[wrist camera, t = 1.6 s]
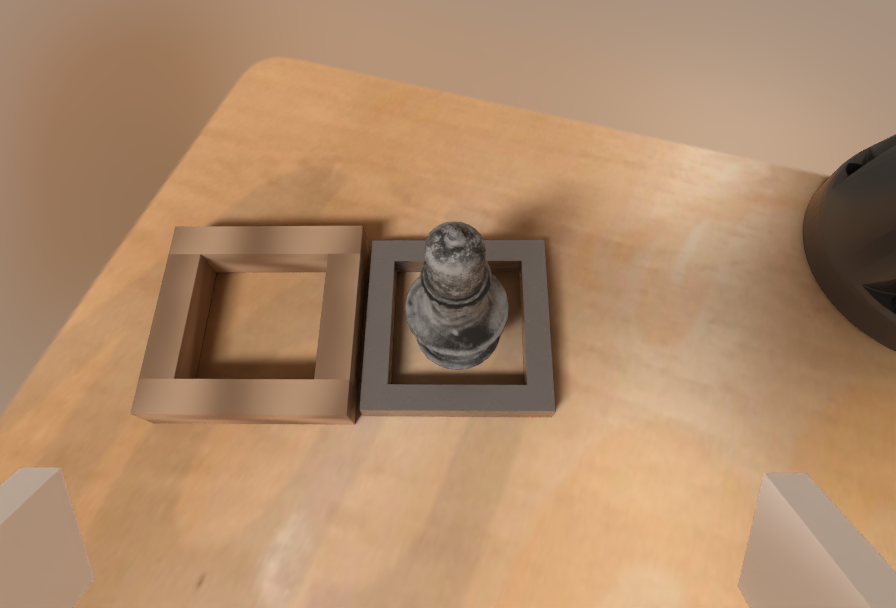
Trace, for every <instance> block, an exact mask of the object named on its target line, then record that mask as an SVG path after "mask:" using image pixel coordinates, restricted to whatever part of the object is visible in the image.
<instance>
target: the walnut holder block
mask: <svg viewBox="0 0 896 608" xmlns="http://www.w3.org/2000/svg"><path fill="white" fill-rule="evenodd" d="M368 250H369V244H368V241H367V238H366V235H365V232H364V228H363V226H203V227H175V230H174V235H173V239H172V243H171V247H170V251H169V255H168V260H167V264H166V268H165V272H164V276H163V280H162V285H161V289H160V293H159V297H158V301H157V305H156V310H155V314H154V318H153V322H152V326H151V330H150V335H149V339H148V343H147V347H146V351H145V355H144V360H143V364H142V368H141V372H140V376H139V380H138V385H137V389H136V393H135V397H134V401H133V405H132V410H131V414H132V415H135V416H137V417H140V418H142V419H145V420H147V421H149V422H152V423H204V424H355V416H356V403H357V390H358V378H359V365H360V352H361V339H362V327H363V314H364V301H365V289H366V276H367V263H368ZM217 272H326V276H325V285H324V294H323V303H322V312H321V321H320V330H319V339H318V348H317V357H316V366H315V375H314V379H196V374H197V369H198V364H199V359H200V354H201V349H202V344H203V339H204V334H205V329H206V324H207V319H208V314H209V309H210V304H211V299H212V294H213V289H214V283H215V278H216V273H217Z"/></svg>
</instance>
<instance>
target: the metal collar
mask: <svg viewBox="0 0 896 608" xmlns="http://www.w3.org/2000/svg"><path fill="white" fill-rule="evenodd" d="M425 241H426V240H384V241H372V252H371V266H370V279H369V292H368V305H367V318H366V331H365V344H364V358H363V371H362V384H361V397H360V411H361V413H362V414H363V415H364V416H449V417H552V416H553V414H554V413H555V397H554V382H553V366H552V351H551V335H550V320H549V305H548V289H547V274H546V258H545V243H544V240H483V241H484V244H485V249H486V253H485V260H486V261H487V263H488V265H489V267H490V271H491V272H520V294H521V317H522V340H523V363H524V385H402V384H391V376H392V357H393V339H394V320H395V302H396V284H397V272H421V268H422V266H423V264H424V262H425V254H424V246H425Z"/></svg>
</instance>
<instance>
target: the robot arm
mask: <svg viewBox="0 0 896 608" xmlns="http://www.w3.org/2000/svg"><path fill="white" fill-rule="evenodd" d="M803 239H804V247H805V251H806V256H807V259H808V262H809V265H810V267H811V270H812V272H813V274H814V276H815V278H816V280H817V282H818V283H819V285H820V287H821V288H822V290H823V291H824V293H825V294H826V296H827V297H828V298H829V299H830V301H831V302H832V303H833V304H834V305H835V307H836V308H837V309H838V310H839V311H840V312H841V313H842V314H843V315H844V316H845V317H846V318H847V319H848V320H849V321H850V322H852V323H853V324H854V325H855V326H856V327H858V328H859V329H860V330H861V331H863V332H864V333H866V334H867V335H868V336H870V337H871V338H873V339H875V340H876V341H878V342H879V343H881V344H883V345H885V346H886V347H888V348H890V349H892V350H894V351H896V135H894V136H892V137H890V138H887V139H886V140H883V141H881V142H879V143H877V144H875V145H873V146H871V147H869V148H867V149H865V150H863V151H861V152H859V153H858V154H856V155H855V156H853V157H852V158H850V159H849V160H847V161H846V162H845V163H844V164H842V165H841V166H840V167H839V168H838V169H837V170H836V171H835V172H834V173H833V174H832V175H831V176H830V177H829V178H828V179H827V180H826V181H825V182H824V183H823V184H822V186H821V187H820V188H819V189H818V190H817V191H816V193H815V194H814V196H813V197H812V199H811V201H810V203H809V205H808V208H807V211H806V214H805V219H804V226H803ZM93 580H94V575H93V572H92V569H91V565H90V562H89V559H88V555H87V552H86V549H85V546H84V542H83V539H82V536H81V532H80V529H79V526H78V523H77V519H76V516H75V513H74V509H73V506H72V503H71V499H70V496H69V493H68V490H67V486H66V483H65V480H64V476H63V473H62V470H61V468H39V467H21V468H20V469H18V470H17V471H16V472H15V473H14V474H13V475H12V476H10V477H9V478H8V479H7V480H6V481H5V482H3V483H2V484H1V485H0V608H73V607H74V606H75V604H76V603H77V601H78V600H79V599H80V597H81V596H82V595H83V593H84V592H85V591H86V589H87V588H88V587H89V585H90V584H91V583H92V581H93ZM738 587H739V589H740V591H741V593H742V595H743V596H744V598H745V600H746V602H747V604H748V605H749V607H750V608H896V572H895V571H894V570H893V568H892V567H891V566H890V565H889V564H888V563H887V562H886V561H885V560H884V558H883V557H882V556H881V555H880V554H879V553H878V552H877V551H876V550H875V548H874V547H873V546H872V545H871V544H870V543H869V542H868V541H867V540H866V539H865V537H864V536H863V535H862V534H861V533H860V532H859V531H858V530H857V529H856V527H855V526H854V525H853V524H852V523H851V522H850V521H849V520H848V519H847V517H846V516H845V515H844V514H843V513H842V512H841V511H840V510H839V509H838V507H837V506H836V505H835V504H834V503H833V502H832V501H831V500H830V499H829V497H828V496H827V495H826V494H825V493H824V492H823V491H822V490H821V489H820V487H819V486H818V485H817V484H816V483H815V482H814V481H813V480H812V479H811V478H810V476H809V475H808V474H807V473H764V476H763V480H762V484H761V489H760V493H759V497H758V501H757V506H756V510H755V514H754V518H753V523H752V527H751V531H750V536H749V540H748V544H747V548H746V553H745V557H744V561H743V566H742V570H741V574H740V578H739V583H738Z"/></svg>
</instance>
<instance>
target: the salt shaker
mask: <svg viewBox="0 0 896 608" xmlns="http://www.w3.org/2000/svg"><path fill="white" fill-rule="evenodd" d="M485 253H486V249H485V244H484V241H483V239H482V237H481V235H480V233H479V232H478V231H477V230H476V229H475V228H473V227H471V226H470V225H468V224H465V223H462V222H447V223H444V224H441V225H439V226H437V227H436V228H434V229H433V230H432V231H431V232H430V233H429V235H428V237H427V239H426V241H425V246H424V254H425V262H424V264H423V266H422V268H421V274H420V276H419V277H418V278H417V280H416V281H415V282H414V283H413V285H412V287H411V289H410V291H409V293H408V295H407V300H406V306H405V309H406V319H407V322H408V324H409V327H410V329H411V332H412V333H413V334H414V335H415V337H416V338H417V341H418V344H419V346H420V349H421V350H422V352H423V353H424V354H425V355H426V357H427V358H428V359H430V360H431V361H432V362H434V363H435V364H437V365H439V366H442V367H444V368H448V369H456V370H460V369H468V368H471V367H474V366H476V365H479V364H480V363H482V362H483V361H484V360H486V359H487V358H488V357H489V356H490V355H491V354H492V352H493V351H494V350H495V348H496V345H497V343H498V341H499V335H500V334H501V333H502V331H503V329H504V327H505V324H506V322H507V319H508V310H509V304H508V299H507V294H506V292H505V290H504V288H503V286H502V284H501V282H500V281H499V280H498V279H497V278H496V277H495V276H494V274H493V273H491V271H490V267H489V265H488V263H487V261H486V260H485Z"/></svg>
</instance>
